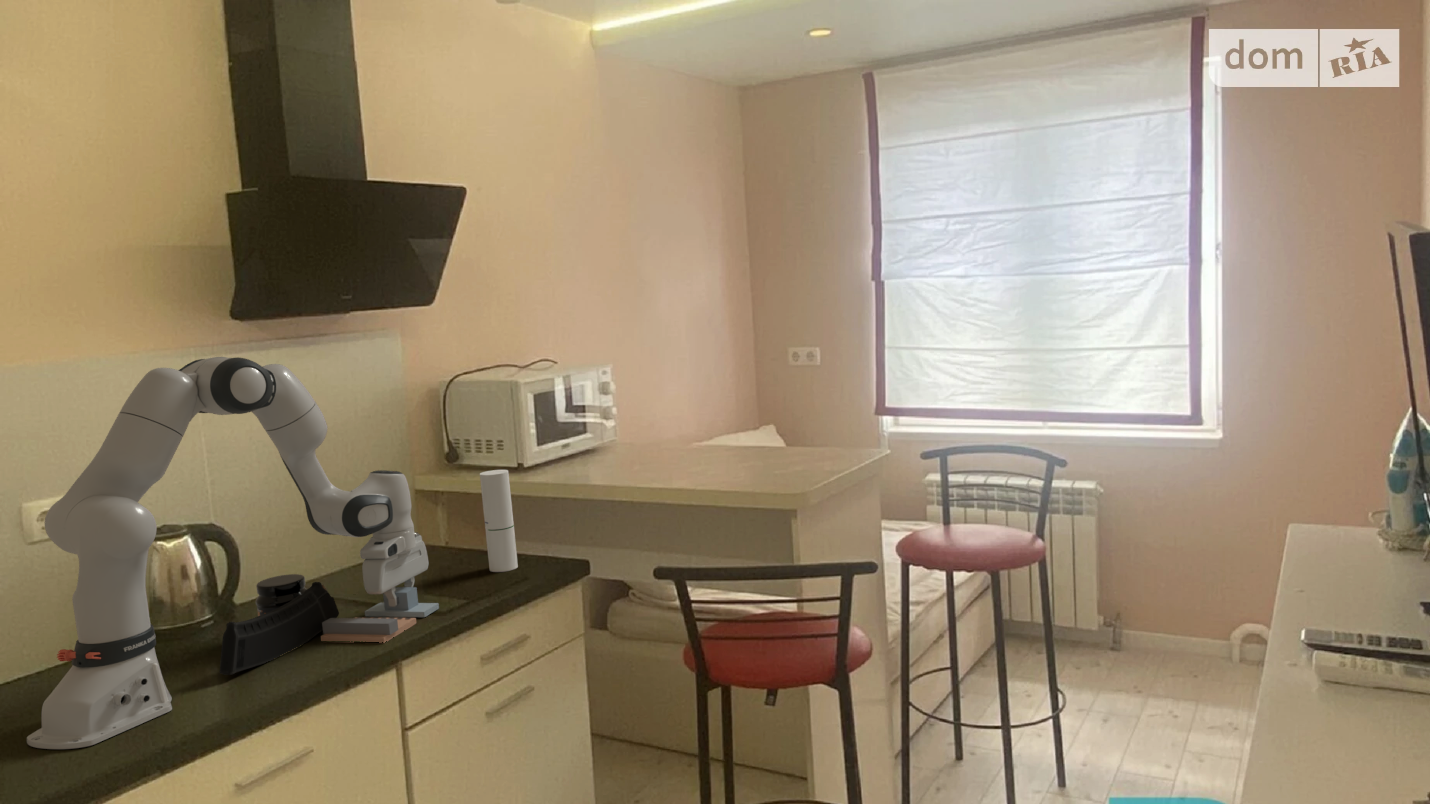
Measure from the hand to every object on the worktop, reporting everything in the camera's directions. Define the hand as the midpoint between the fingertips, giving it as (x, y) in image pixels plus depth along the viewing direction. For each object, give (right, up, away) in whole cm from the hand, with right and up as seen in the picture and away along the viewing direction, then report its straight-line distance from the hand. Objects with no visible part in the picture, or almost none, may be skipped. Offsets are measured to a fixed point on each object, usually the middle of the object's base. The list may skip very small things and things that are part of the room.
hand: (401, 601), depth 221 cm
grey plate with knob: (0, -3, 0) cm, 3 cm away
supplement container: (-22, -6, -8) cm, 24 cm away
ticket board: (-3, -4, -12) cm, 13 cm away
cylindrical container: (+16, +2, +33) cm, 36 cm away
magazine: (-18, -7, -19) cm, 27 cm away
